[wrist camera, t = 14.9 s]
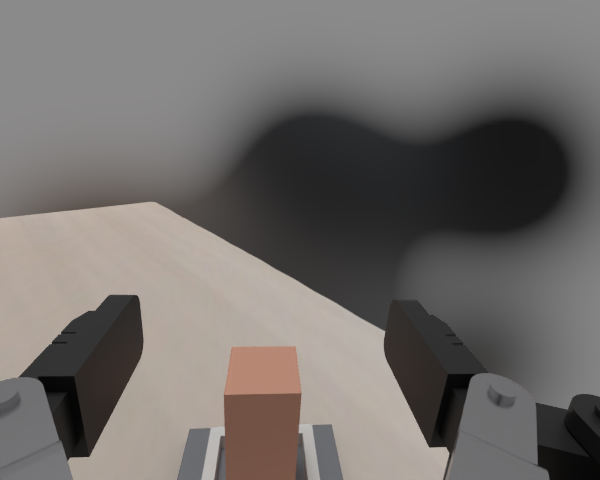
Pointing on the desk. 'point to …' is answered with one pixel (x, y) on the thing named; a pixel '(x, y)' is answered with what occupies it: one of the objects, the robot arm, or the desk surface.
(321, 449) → the baseplate
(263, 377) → the column
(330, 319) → the desk surface
